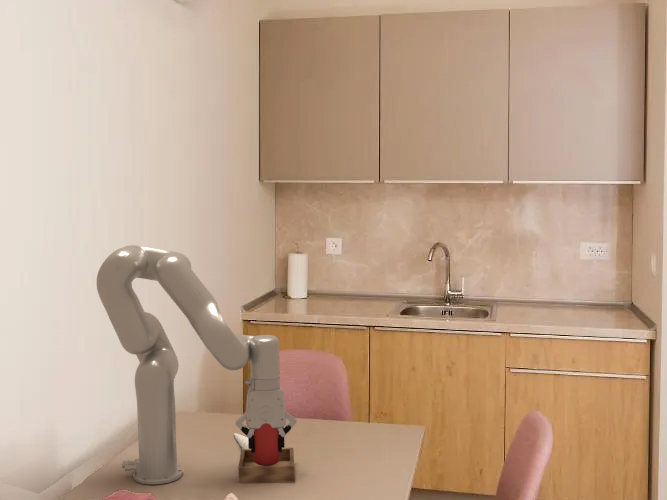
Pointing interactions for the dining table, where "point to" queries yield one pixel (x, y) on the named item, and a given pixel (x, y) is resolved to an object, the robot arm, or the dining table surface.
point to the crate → (266, 468)
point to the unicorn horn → (242, 441)
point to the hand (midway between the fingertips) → (266, 450)
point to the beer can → (266, 445)
